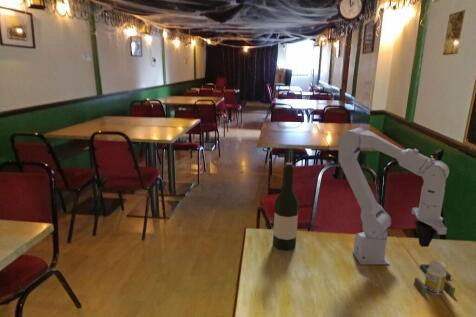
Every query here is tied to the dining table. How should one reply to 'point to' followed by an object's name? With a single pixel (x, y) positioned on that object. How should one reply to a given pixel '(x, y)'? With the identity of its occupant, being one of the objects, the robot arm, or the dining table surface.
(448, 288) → the channel
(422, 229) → the robot arm
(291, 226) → the wine bottle
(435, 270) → the supplement bottle
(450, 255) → the dining table surface
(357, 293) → the dining table surface
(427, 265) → the dark gray rectangular tray
